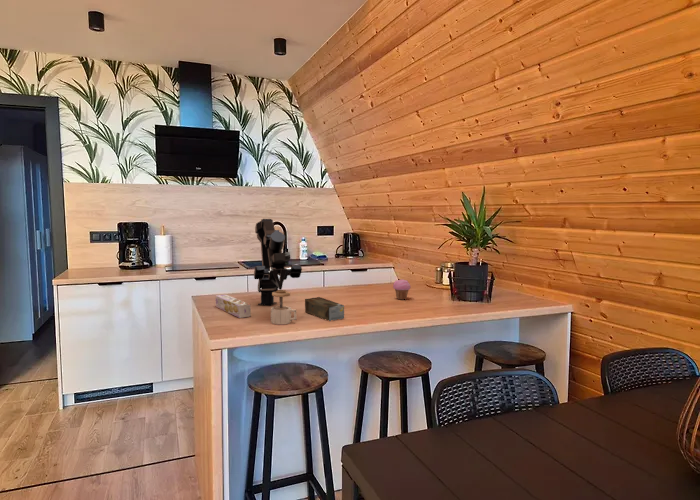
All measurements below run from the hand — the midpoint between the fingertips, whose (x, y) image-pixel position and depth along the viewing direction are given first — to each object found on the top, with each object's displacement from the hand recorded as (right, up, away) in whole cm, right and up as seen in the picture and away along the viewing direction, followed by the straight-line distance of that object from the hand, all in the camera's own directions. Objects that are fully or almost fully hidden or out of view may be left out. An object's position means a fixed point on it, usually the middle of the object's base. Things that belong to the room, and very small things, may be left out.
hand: (280, 288), depth 179 cm
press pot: (+1, -13, 0) cm, 13 cm away
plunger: (0, -7, 0) cm, 7 cm away
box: (-24, -12, +17) cm, 31 cm away
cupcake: (+53, -10, +51) cm, 74 cm away
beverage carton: (+16, -13, +13) cm, 24 cm away
